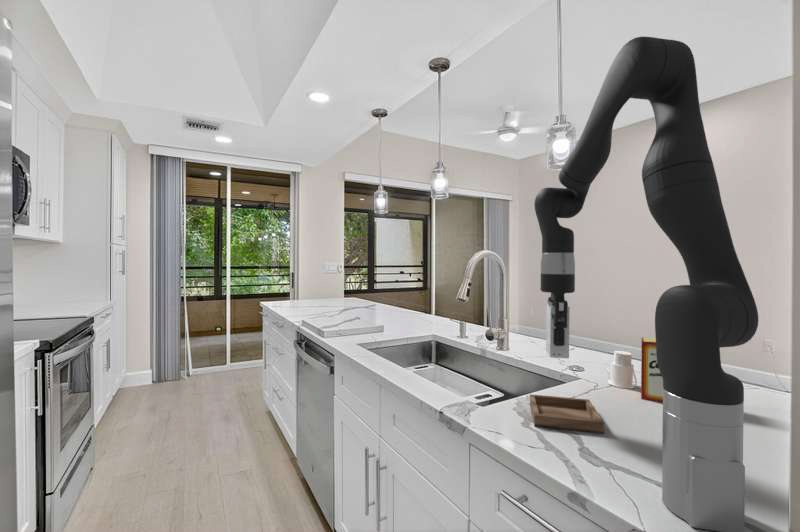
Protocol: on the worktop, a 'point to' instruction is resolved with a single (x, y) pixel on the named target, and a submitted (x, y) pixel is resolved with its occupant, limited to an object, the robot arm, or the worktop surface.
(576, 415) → the tray
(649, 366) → the baking soda box
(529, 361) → the worktop surface
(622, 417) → the worktop surface
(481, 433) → the worktop surface
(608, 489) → the worktop surface
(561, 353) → the skincare box
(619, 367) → the downlight
